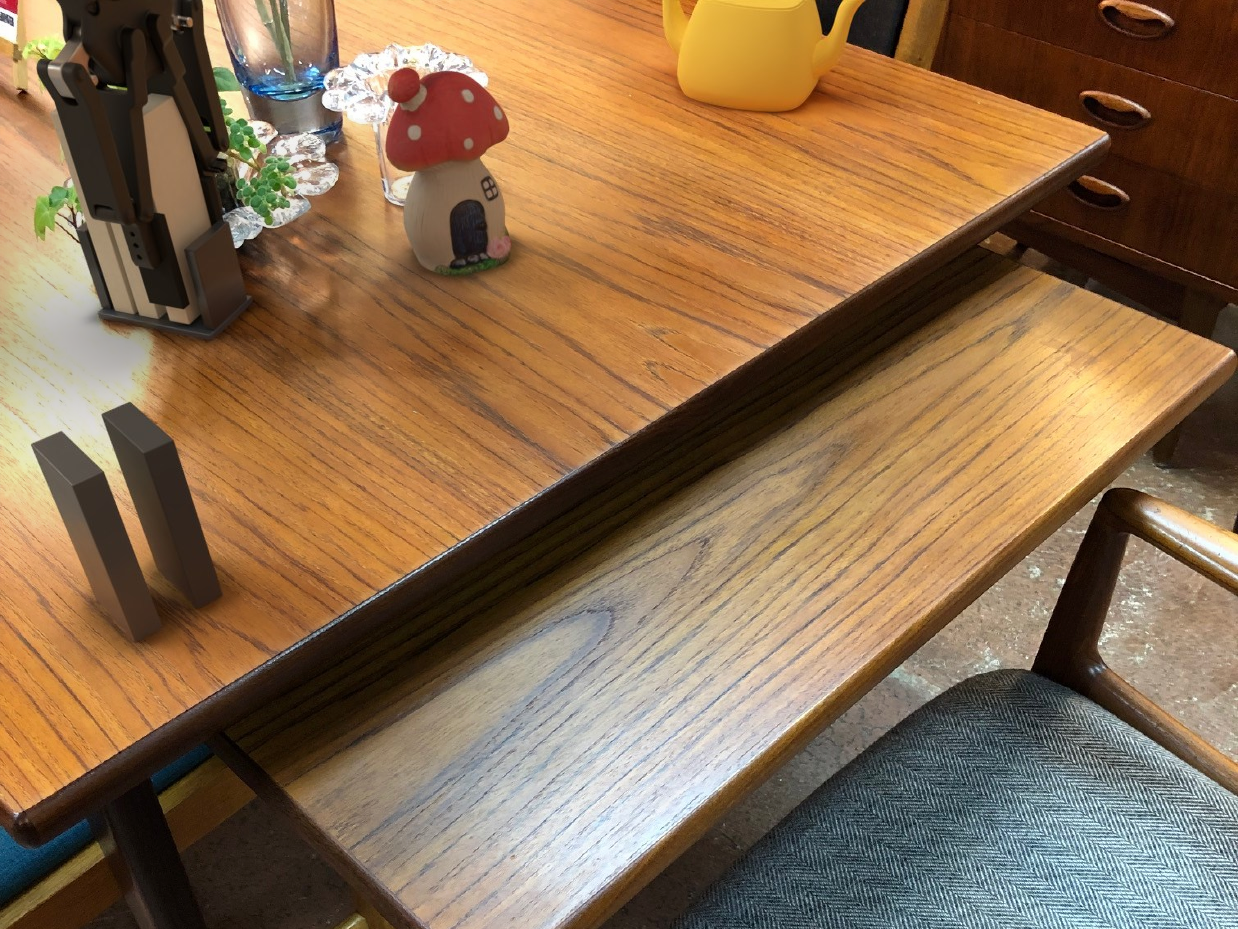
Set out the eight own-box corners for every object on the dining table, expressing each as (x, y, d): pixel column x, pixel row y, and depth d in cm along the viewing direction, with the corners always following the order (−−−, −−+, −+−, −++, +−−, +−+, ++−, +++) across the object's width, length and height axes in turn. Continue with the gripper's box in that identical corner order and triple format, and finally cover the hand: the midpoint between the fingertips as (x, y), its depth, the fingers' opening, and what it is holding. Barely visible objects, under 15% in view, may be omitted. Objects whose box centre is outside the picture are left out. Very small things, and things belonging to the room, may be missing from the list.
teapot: (879, 73, 119) (898, -46, 111) (845, 134, 109) (863, 7, 101) (670, 43, 124) (675, -73, 117) (619, 98, 114) (620, -25, 106)
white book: (169, 320, 83) (109, 119, 73) (208, 286, 86) (156, 89, 76) (189, 324, 83) (132, 123, 73) (228, 289, 86) (178, 92, 76)
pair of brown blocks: (138, 649, 63) (71, 485, 55) (99, 607, 65) (29, 443, 57) (225, 602, 65) (174, 439, 57) (185, 562, 67) (130, 400, 60)
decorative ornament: (411, 291, 89) (384, 85, 78) (390, 251, 93) (361, 50, 82) (530, 268, 91) (520, 66, 80) (503, 230, 95) (490, 33, 85)
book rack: (100, 324, 85) (69, 233, 80) (146, 286, 89) (118, 197, 84) (213, 347, 83) (188, 255, 78) (255, 308, 87) (233, 217, 82)
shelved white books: (114, 310, 84) (49, 112, 75) (150, 281, 87) (92, 86, 77) (158, 319, 84) (98, 120, 74) (193, 289, 87) (140, 93, 77)
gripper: (43, -37, 60) (165, 360, 76) (233, -127, 72) (304, 233, 89) (-79, -52, 62) (66, 340, 78) (127, -138, 74) (215, 217, 90)
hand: (192, 282), depth 83 cm, fingers closed on white book, 5 cm apart
